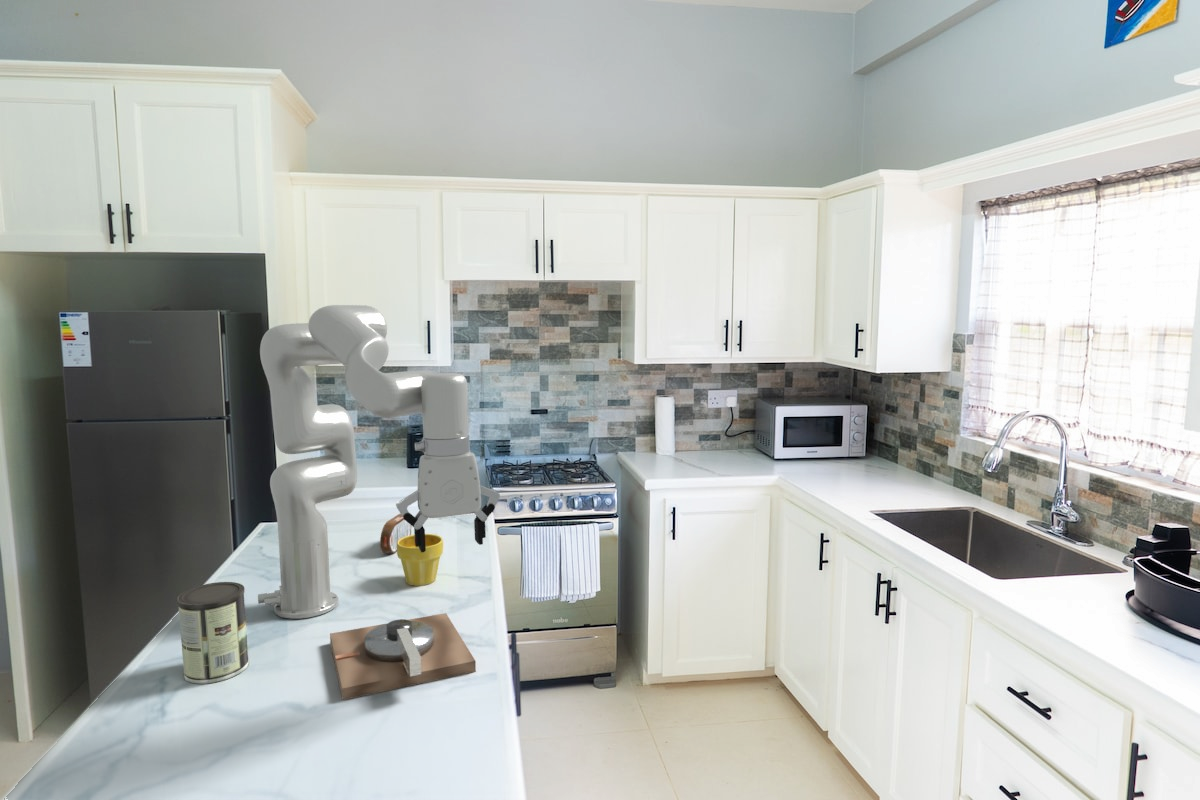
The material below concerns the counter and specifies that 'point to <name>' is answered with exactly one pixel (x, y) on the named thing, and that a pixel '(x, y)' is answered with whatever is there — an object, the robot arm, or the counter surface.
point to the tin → (394, 533)
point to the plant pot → (420, 559)
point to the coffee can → (213, 632)
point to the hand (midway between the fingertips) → (450, 546)
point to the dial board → (378, 676)
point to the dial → (400, 643)
